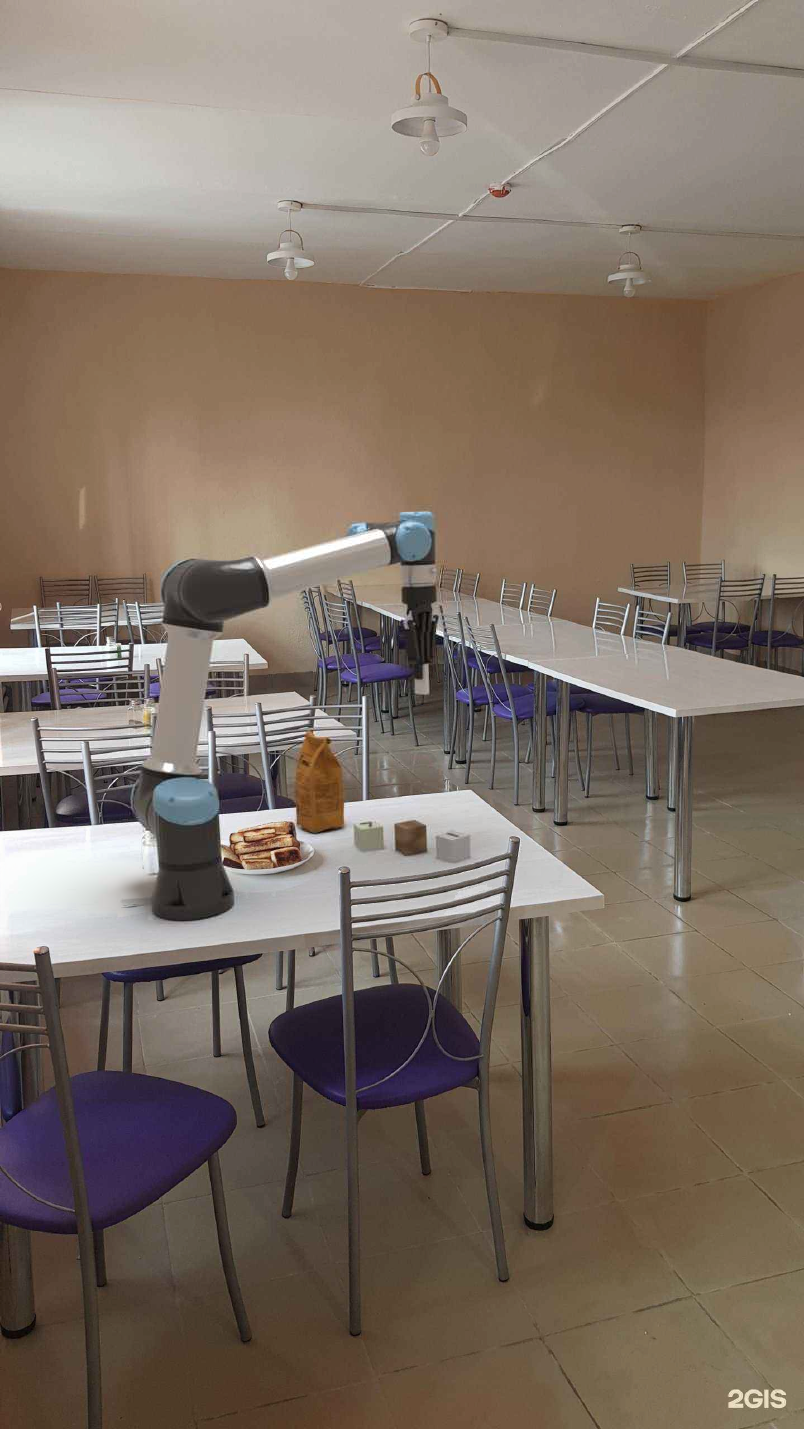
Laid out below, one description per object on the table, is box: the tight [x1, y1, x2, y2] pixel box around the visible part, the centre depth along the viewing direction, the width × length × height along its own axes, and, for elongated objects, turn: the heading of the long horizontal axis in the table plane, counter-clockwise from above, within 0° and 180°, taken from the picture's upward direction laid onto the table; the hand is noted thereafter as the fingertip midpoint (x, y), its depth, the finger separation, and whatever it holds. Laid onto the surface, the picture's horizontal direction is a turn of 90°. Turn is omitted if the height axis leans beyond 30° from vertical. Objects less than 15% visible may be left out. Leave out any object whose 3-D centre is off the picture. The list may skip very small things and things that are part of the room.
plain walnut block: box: [394, 819, 428, 857], centre depth 226 cm, size 5×5×6 cm
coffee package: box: [294, 730, 345, 834], centre depth 246 cm, size 10×12×22 cm
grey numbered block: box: [435, 829, 471, 864], centre depth 221 cm, size 5×5×5 cm
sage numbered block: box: [353, 820, 385, 853], centre depth 231 cm, size 5×5×5 cm
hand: (422, 693), depth 231 cm, fingers closed
